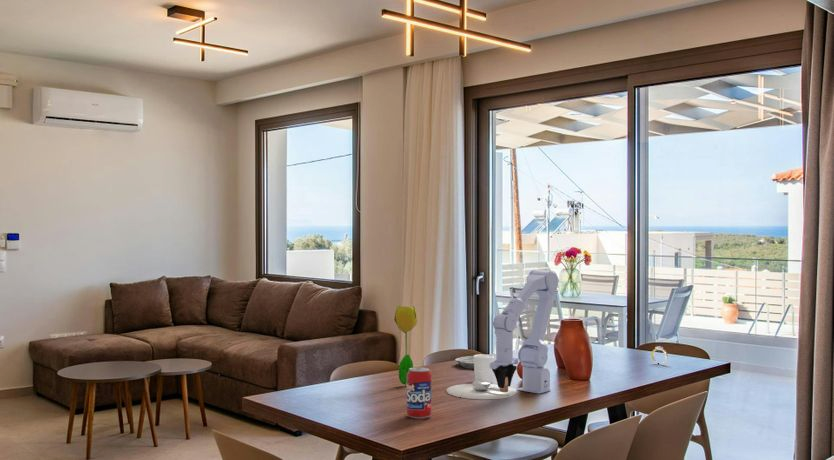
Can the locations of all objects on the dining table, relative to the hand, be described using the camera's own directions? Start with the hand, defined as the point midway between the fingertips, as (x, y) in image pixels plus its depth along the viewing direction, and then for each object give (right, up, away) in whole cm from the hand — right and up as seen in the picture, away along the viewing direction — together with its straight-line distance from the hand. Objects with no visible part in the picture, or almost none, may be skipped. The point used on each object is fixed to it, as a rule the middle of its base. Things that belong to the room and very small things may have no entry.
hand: (504, 386), depth 267 cm
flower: (-35, -3, +16) cm, 39 cm away
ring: (+75, -4, +66) cm, 100 cm away
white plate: (-7, -3, +7) cm, 10 cm away
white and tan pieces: (-4, -2, +4) cm, 6 cm away
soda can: (-30, -3, -31) cm, 43 cm away
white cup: (-5, -3, +25) cm, 25 cm away
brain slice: (-6, -4, +59) cm, 59 cm away
